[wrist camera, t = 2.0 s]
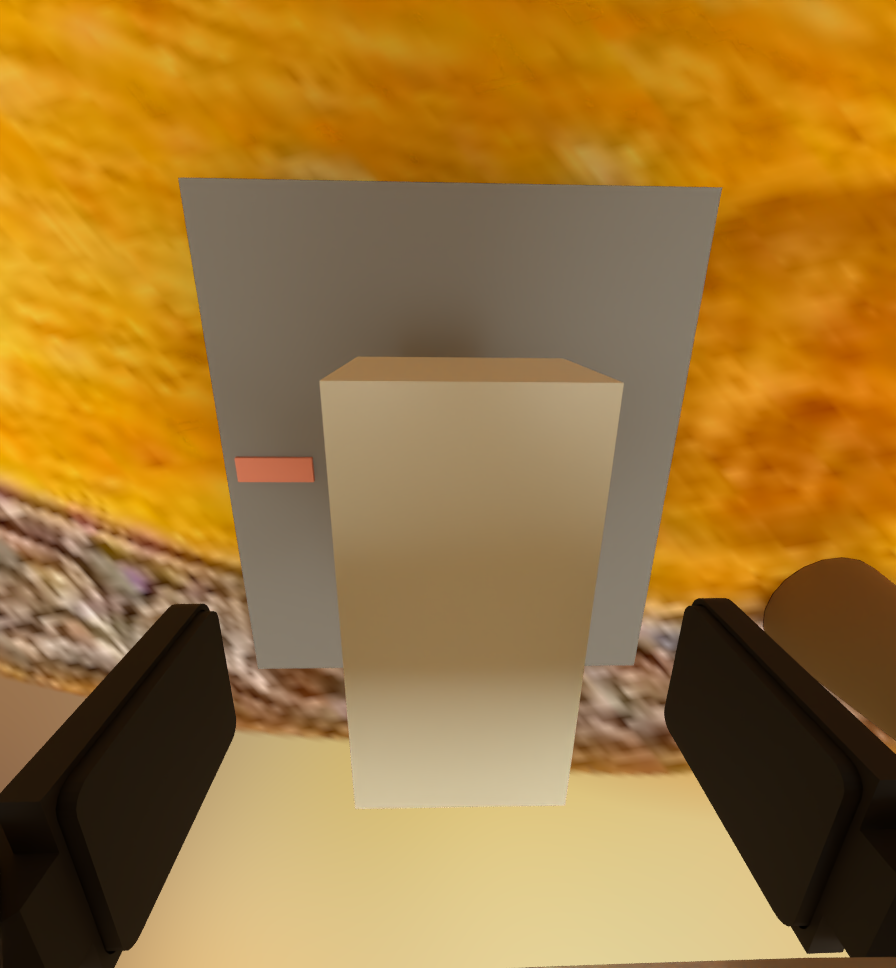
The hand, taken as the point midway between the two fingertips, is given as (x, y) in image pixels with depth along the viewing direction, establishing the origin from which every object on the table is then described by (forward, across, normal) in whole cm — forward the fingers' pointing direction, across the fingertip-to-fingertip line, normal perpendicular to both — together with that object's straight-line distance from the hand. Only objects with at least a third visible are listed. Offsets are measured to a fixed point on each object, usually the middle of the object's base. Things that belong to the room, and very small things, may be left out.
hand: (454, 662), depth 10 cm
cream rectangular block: (+7, 0, 0) cm, 7 cm away
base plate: (+12, 0, -1) cm, 12 cm away
